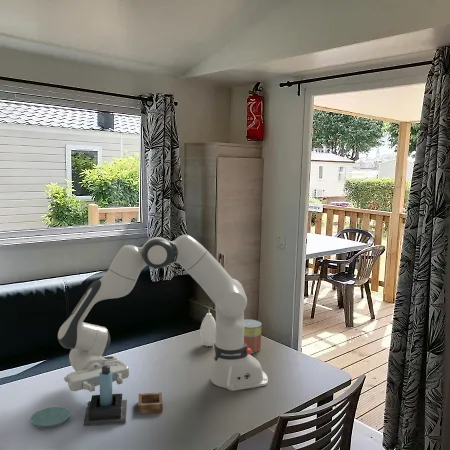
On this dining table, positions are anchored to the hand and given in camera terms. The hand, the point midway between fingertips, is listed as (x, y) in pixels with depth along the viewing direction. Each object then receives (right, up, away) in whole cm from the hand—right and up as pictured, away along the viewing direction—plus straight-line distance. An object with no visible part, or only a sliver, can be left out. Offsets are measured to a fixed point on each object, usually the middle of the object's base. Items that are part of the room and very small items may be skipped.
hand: (106, 385), depth 150 cm
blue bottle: (-1, -9, +2) cm, 9 cm away
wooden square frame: (+13, -10, +8) cm, 18 cm away
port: (-1, -10, +2) cm, 11 cm away
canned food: (+49, -5, +62) cm, 79 cm away
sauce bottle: (+31, -4, +63) cm, 70 cm away
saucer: (-17, -11, -3) cm, 21 cm away
